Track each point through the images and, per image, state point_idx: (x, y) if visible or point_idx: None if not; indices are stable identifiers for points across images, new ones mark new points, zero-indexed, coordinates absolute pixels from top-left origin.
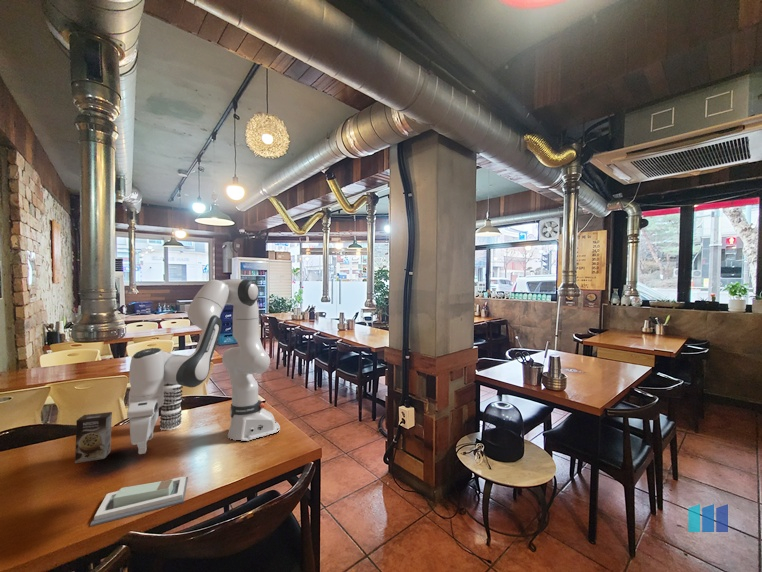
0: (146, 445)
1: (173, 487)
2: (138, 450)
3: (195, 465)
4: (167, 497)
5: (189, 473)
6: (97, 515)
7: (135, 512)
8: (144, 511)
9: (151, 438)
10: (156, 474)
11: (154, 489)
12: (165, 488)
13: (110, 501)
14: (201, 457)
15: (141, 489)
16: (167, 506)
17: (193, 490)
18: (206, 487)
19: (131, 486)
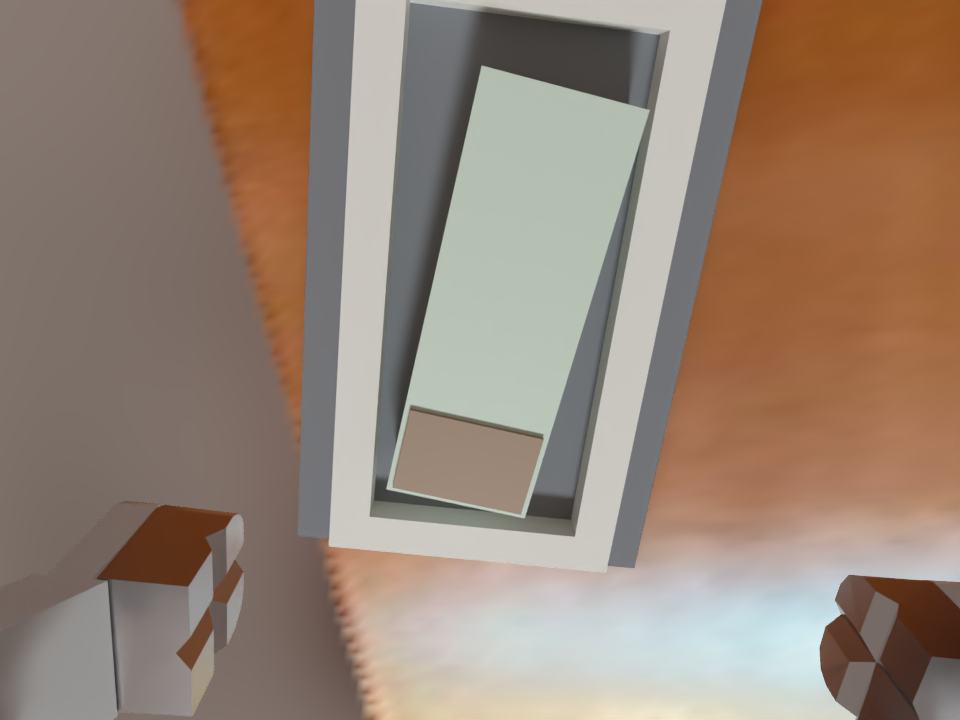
0: (170, 711)
1: None
2: (85, 539)
3: (803, 612)
4: (345, 457)
5: (700, 571)
6: None
7: (316, 245)
8: (306, 303)
9: (829, 676)
10: (875, 355)
11: (432, 390)
12: (396, 467)
13: (617, 31)
14: None
15: (498, 291)
16: (304, 439)
17: (426, 585)
18: (416, 654)
19: (615, 202)
